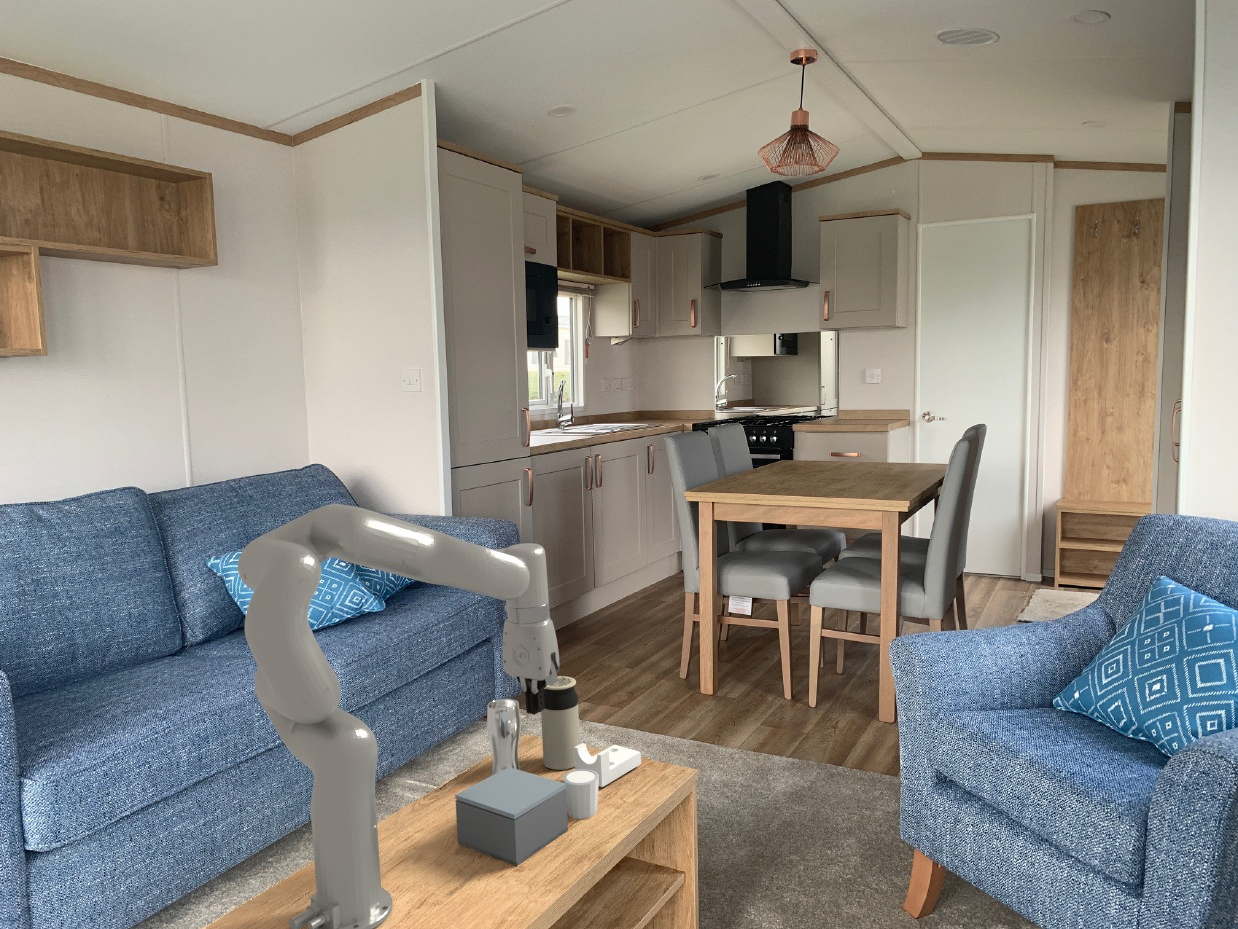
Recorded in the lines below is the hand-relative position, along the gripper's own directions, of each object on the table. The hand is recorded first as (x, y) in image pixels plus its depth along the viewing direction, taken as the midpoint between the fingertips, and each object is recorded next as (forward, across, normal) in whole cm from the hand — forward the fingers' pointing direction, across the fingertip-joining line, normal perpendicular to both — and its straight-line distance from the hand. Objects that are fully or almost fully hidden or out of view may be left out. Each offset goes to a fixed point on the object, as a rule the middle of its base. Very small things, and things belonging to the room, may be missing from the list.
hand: (535, 711), depth 158 cm
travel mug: (+23, -14, +23) cm, 36 cm away
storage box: (+22, -2, -6) cm, 23 cm away
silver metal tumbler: (+23, -21, +13) cm, 34 cm away
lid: (+14, -2, -5) cm, 15 cm away
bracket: (+24, -2, +24) cm, 34 cm away
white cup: (+23, +3, +8) cm, 24 cm away
